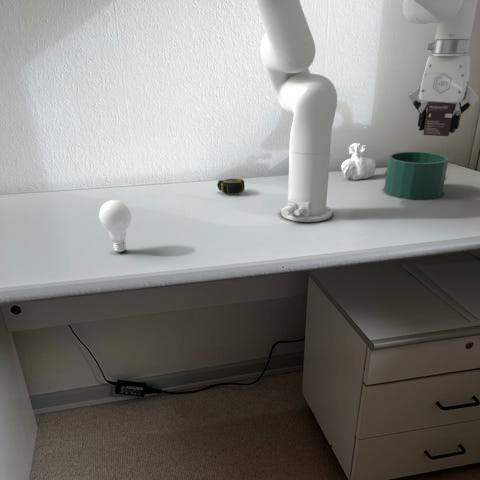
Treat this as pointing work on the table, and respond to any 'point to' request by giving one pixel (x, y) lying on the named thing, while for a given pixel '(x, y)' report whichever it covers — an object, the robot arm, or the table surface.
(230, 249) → the table surface
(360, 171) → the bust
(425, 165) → the pot
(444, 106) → the box
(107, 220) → the lightbulb
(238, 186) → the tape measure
